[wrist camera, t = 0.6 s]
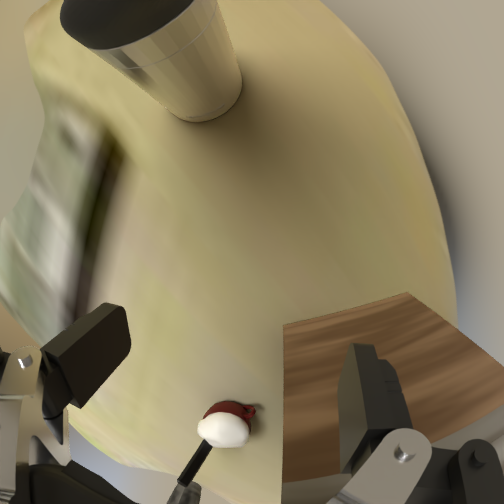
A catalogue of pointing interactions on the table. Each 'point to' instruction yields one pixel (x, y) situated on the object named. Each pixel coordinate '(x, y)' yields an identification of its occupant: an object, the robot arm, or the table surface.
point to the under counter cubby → (410, 378)
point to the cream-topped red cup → (219, 434)
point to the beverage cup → (186, 494)
